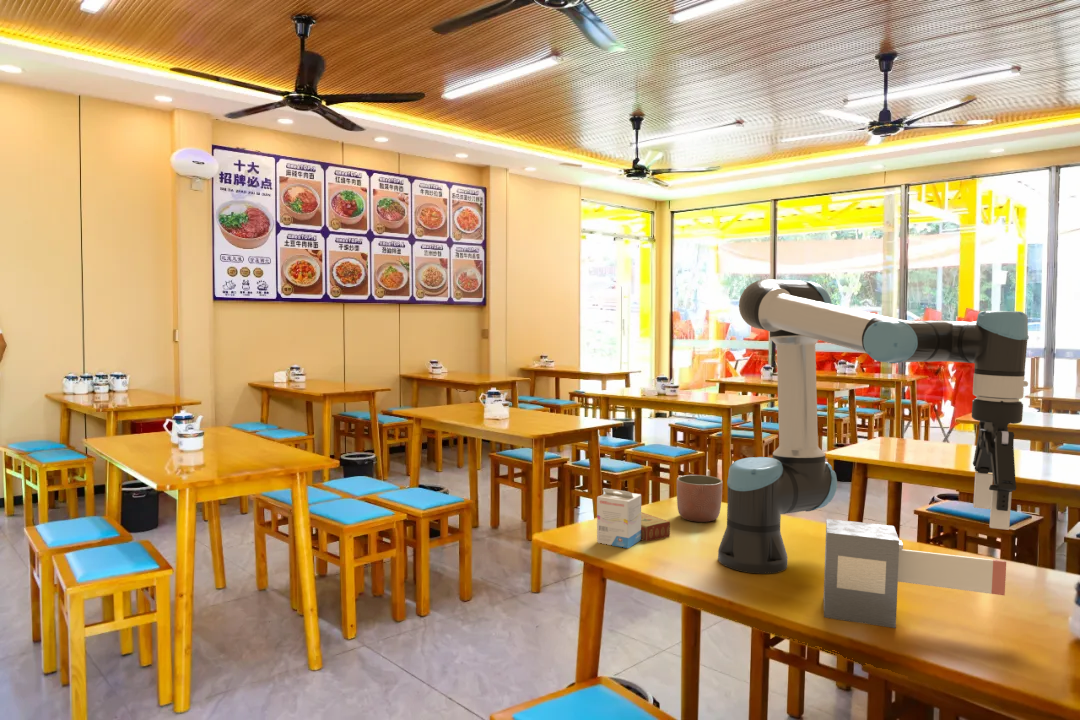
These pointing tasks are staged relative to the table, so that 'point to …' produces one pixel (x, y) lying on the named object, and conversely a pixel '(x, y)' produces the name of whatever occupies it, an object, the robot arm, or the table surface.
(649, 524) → the carton
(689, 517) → the planter
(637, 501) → the ink box
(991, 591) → the pink-tipped white stick
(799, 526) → the table surface
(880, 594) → the dispenser
